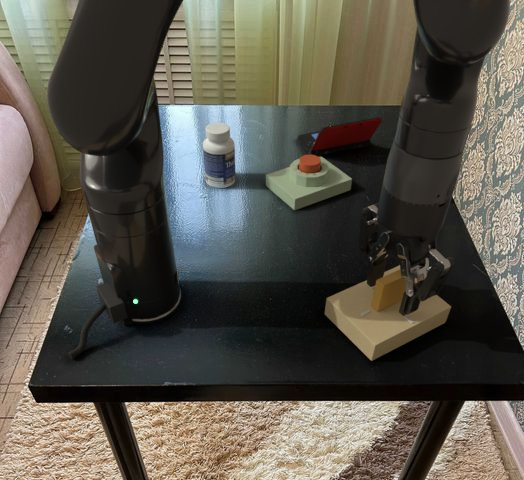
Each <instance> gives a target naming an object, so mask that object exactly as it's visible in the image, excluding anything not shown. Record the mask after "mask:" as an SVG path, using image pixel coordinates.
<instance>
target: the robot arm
mask: <svg viewBox="0 0 524 480" xmlns="http://www.w3.org/2000/svg"><path fill="white" fill-rule="evenodd" d="M183 2H184V0H78V1H77V4H76V8H75V10H74V14H73V16H72V19H71V22H70V25H69V28H68V30H67V33H66V36H65V38H64V41H63V44H62V46H61V48H60V52H59V54H58V57H57V59H56V62H55V65H54V66H53V68H52V71H51V72H50V76H49V79H48V81H47V87H46V88H47V89H46V103H47V106H48V108H47V109H48V113H49V115H50V118H51V121H52V123H53V126H54V128H55V130H56V131H57V132H58V134H59V135H60V137H61V138H62V139H63V141H65V142H66V143H67V144H68V145H69V146H70V147H71V148H73V149H74V150H76V151H78V152H80V162H79V163H80V164H79V184H80V189H81V192H82V195H83V199H84V202H85V205H86V209H87V213H88V217H89V220H90V225H91V228H92V232H93V236H94V238H95V242H96V244H95V245H94V246H93V250H94V254H95V257H96V261H97V265H98V268H99V271H100V275H101V279H102V282H103V283H101V284H99V285H96V286H95V288H96V292H97V295H98V298H99V301H100V305H99V306H98V307H97V308H96V309H95V310H94V311H93V312H92V313H91V314H90V316H89V317H88V318H87V319H86V321H85V322H84V324H83V326H82V327H81V330H80V336H79V337H80V338H79V342H78V345H77V346H76V348H74V349H72V350H70V351H69V352H68V353H67V356H68V357H69V358H70V359H74V358H76V357H78V356H80V354H82V353H83V351H84V350H85V348H86V346H87V344H88V336H89V332H90V329H91V327H92V326H93V324H94V323H95V321H96V320H97V319H98V318H100V316H101V315H102V314H103V313H104V312H105V311H106V314H107V315H108V316H109V318H110V319H111V321H112V323H113V324H117V323H119V322H122V324H123V325H124V327H128V326H130V325H152V324H157V323H159V322H162V321H164V320H166V319H168V318H170V317H171V316H173V315H174V314H175V313H176V312H177V311H178V310H179V308H180V306H181V303H182V292H181V287H180V271H179V270H180V269H178V267H177V262H176V256H175V248H174V242H173V233H172V228H171V221H170V213H169V205H168V199H167V193H166V185H165V176H164V163H165V159H164V157H165V154H164V143H163V134H162V125H161V115H160V107H159V99H158V92H157V84H156V81H155V73H156V69H157V67H158V62H159V60H160V56H161V52H162V50H163V47H164V44H165V41H166V38H167V36H168V34H169V31H170V28H171V26H172V24H173V22H174V19H175V17H176V15H177V13H178V11H179V9H180V7H182V4H183ZM412 3H413V9H414V15H415V23H416V29H415V35H414V41H413V42H414V43H413V49H412V55H411V63H410V69H409V76H408V80H407V83H406V86H405V89H404V93H403V96H402V99H401V103H400V107H399V111H398V117H397V122H396V126H395V133H394V136H393V141H392V143H391V147H390V150H389V153H388V155H387V159H386V164H385V170H384V175H383V180H382V185H381V189H380V196H379V200H378V202H377V203H373V204H371V205H368V206H366V207H363V208H361V209H360V215H359V233H358V234H359V236H358V238H359V239H358V248H359V251H360V252H362V253H364V252H365V254H366V255H367V256H366V260H367V262H368V265H367V269H366V274H365V276H366V280H367V284H368V285H369V286H370V287H373V286H375V285H376V281H377V279H380V278H382V277H383V276H384V272H386V268H387V267H386V266H387V263H388V260H387V259H386V258H388V257H391V258H393V259H394V260H395V261H396V262H397V264H399V266H400V271H401V277H402V278H404V279H405V287H406V291H405V292H404V294H403V298H402V301H401V305H400V309H399V313H400V314H401V315H403V316H405V315H408V314H410V313H412V312H414V311H416V310H417V309H418V307H419V304H420V301H425V300H427V299H428V298H430V297H432V296H435V295H437V296H438V295H439V294H440V293H441V291H442V289H443V287H444V285H445V283H446V282H447V280H448V278H449V276H450V275H451V273H452V272H453V270H454V268H455V266H456V260H455V258H454V257H453V256H448V257H446V258H445V257H444V256H443V254H442V253H441V252H439V251H438V250H437V249H438V241H437V240H438V239H437V238H438V235H439V233H440V231H441V229H442V228H443V226H444V224H445V221H446V218H447V215H448V211H449V208H450V205H451V201H452V198H453V196H454V192H455V189H456V185H457V182H458V179H459V175H460V173H461V168H462V163H463V156H464V151H465V147H466V144H467V141H468V138H469V134H470V131H471V128H472V125H473V121H474V117H475V113H476V109H477V104H478V92H479V91H478V90H479V81H480V76H481V72H482V68H483V65H484V63H485V60H486V56H487V55H488V54H489V53H490V52H491V51H493V49H494V48H495V47H496V46H497V44H498V43H499V42H500V40H501V38H502V36H503V34H504V32H505V30H506V28H507V25H508V21H509V18H510V11H511V0H412ZM369 236H370V239H369ZM413 265H414V266H413ZM411 266H413V267H411ZM415 278H416V279H417V283H415Z"/></svg>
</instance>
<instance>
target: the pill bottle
mask: <svg viewBox="0 0 524 480" xmlns="http://www.w3.org/2000/svg"><path fill="white" fill-rule="evenodd" d="M205 137H206V138H204V140H203V142H202V155H203V165H204V166H203V167H204V179H205V182H206V184H207V185H208V186H210V187H212V188H214V189H215V188H216V189H225V188H226V189H227V188H228V187H230V186H232V185H234V183H235V182H236V147H235V146H236V145H235V141H234V139H233V138H232V137H231V128H230V126H229V124H227V123H224V122H212V123H209V124H208V125H206V127H205Z"/></svg>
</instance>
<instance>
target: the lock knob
mask: <svg viewBox="0 0 524 480" xmlns="http://www.w3.org/2000/svg"><path fill="white" fill-rule="evenodd" d="M405 291H406V287H405V279H404V278H402V277H401V271H400V270H397V271H395V272H393V273H391V274H389V275H386V276H384V277H382V278H380V279H377V281H376V285H375V290H374V294H373V299H372V303H371V306H372V307H373V308H374V309H375V310H376V311H377V312H378V311H380V310H383V309H385V308H387V307H389V306H391V305H393V304H395V303H397V302H399V301H401V300H402V298H403V294H404V292H405Z"/></svg>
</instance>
